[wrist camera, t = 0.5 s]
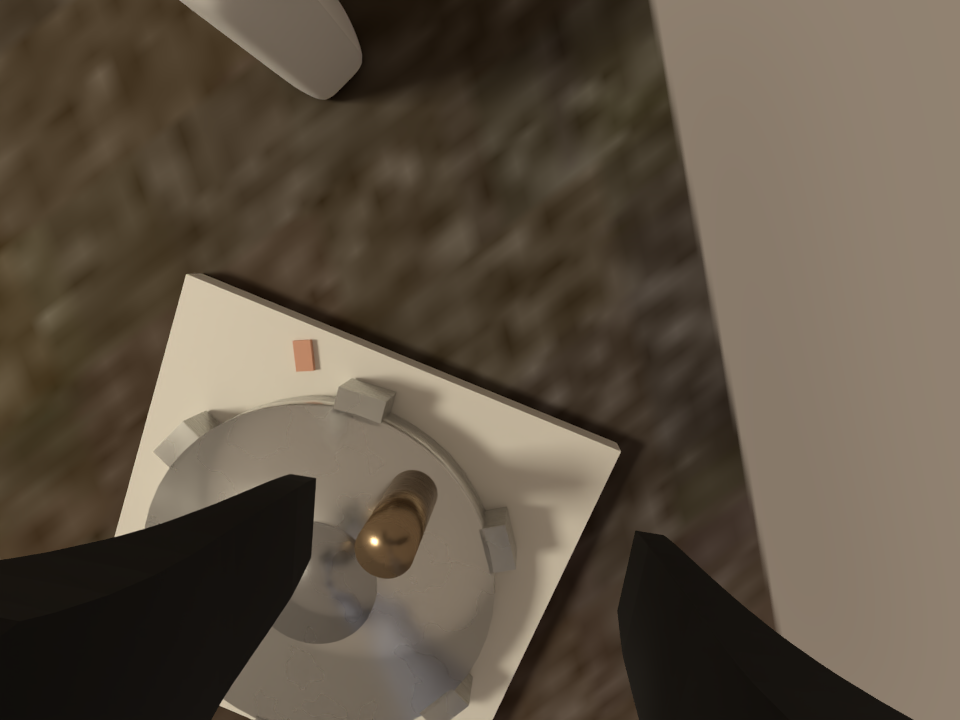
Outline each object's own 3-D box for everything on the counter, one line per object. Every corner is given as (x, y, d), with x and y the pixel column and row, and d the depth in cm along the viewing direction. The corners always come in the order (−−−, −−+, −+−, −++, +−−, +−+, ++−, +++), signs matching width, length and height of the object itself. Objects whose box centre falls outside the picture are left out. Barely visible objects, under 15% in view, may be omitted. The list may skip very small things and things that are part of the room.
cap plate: (455, 782, 25) (451, 808, 24) (101, 633, 25) (80, 651, 24) (616, 442, 21) (622, 453, 20) (202, 273, 22) (183, 274, 20)
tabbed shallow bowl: (342, 776, 24) (288, 925, 19) (88, 532, 23) (-49, 615, 17) (586, 589, 21) (606, 700, 16) (310, 302, 20) (230, 317, 15)
